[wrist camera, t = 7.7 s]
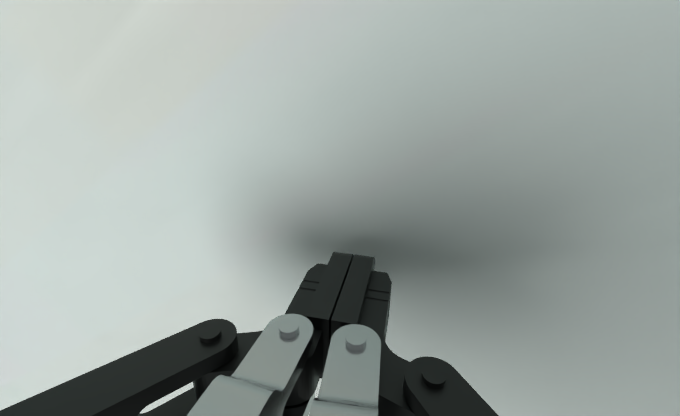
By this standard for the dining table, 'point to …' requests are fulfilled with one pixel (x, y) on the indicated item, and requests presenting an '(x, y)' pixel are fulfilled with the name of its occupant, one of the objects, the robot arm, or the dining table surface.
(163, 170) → the dining table surface
